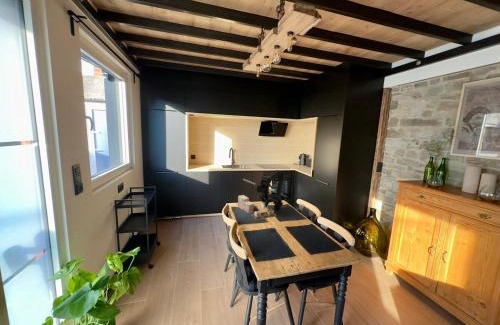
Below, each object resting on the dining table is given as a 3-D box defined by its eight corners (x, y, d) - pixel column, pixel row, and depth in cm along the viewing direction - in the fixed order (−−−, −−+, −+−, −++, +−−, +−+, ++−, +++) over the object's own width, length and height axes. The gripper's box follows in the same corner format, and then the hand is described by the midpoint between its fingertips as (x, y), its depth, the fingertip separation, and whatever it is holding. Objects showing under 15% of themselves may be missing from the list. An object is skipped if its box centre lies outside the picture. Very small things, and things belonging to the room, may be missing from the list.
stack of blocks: (253, 213, 196) (254, 201, 194) (248, 214, 193) (248, 202, 191) (242, 205, 214) (243, 194, 212) (237, 206, 211) (238, 195, 209)
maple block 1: (258, 215, 189) (258, 210, 188) (260, 217, 185) (261, 212, 184) (254, 216, 187) (254, 211, 186) (256, 217, 183) (256, 213, 182)
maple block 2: (270, 213, 195) (271, 208, 194) (273, 215, 191) (273, 210, 191) (266, 213, 193) (267, 209, 192) (269, 215, 189) (269, 211, 189)
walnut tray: (270, 212, 199) (270, 210, 199) (276, 217, 189) (276, 214, 189) (250, 215, 189) (251, 213, 189) (256, 220, 180) (256, 218, 179)
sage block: (265, 206, 191) (265, 201, 190) (267, 208, 187) (268, 203, 186) (261, 206, 189) (261, 202, 188) (263, 208, 185) (263, 204, 184)
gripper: (253, 188, 190) (252, 203, 192) (263, 194, 173) (262, 211, 176) (263, 187, 195) (262, 202, 197) (273, 193, 178) (272, 209, 181)
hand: (264, 206), depth 188 cm, fingers closed on sage block, 4 cm apart
